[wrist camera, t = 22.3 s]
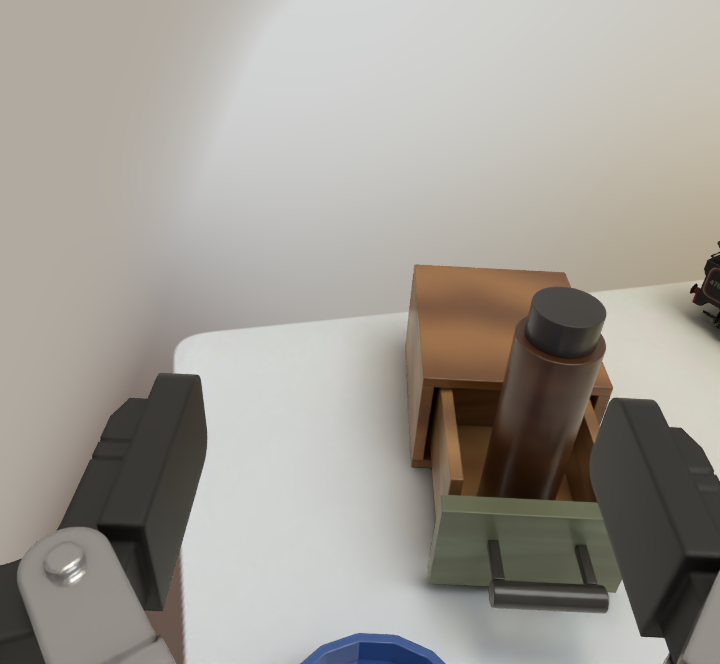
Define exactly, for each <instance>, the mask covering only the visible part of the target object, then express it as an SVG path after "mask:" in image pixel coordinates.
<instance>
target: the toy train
mask: <svg viewBox="0 0 720 664" xmlns="http://www.w3.org/2000/svg"><path fill="white" fill-rule="evenodd" d="M718 245H719V248H720V241H719V242H718ZM719 253H720V252H718V253H716V254H719ZM716 254H713V255H711V257H712V258H711V259H709V260H707V263H706V265H705V268H704V270H705V275H706V277H705V280H704V282H703V284H702V287H701V289H700V288H698V287H697V286H698V285H697V284H695V285H694V286H693V287H692V288H691V291H690V293H695V296H694V299H693V301H692V302H693V303H695V304H697V305H699V306H702V305H704V304H706V303H708V302H709V303H711V304H712V305H714V306H716V307H718V308H719V309H720V255H718V256H715V257H714V255H716ZM702 313H705V314H706V315H708V316H710V317H711V318H713V319H715V321H714V322H713V323H714V324H715V323H717V322H720V312H719V313H718V315H717V317H715V316H713V315H711V314H710V313H708V312H706V311H704V310H703V312H702ZM715 327H716V328H718V329H720V323H719V324H718V325H716V326H715Z"/></svg>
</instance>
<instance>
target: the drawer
mask: <svg viewBox="0 0 720 664" xmlns="http://www.w3.org/2000/svg"><path fill="white" fill-rule="evenodd" d="M500 393H501V391H499V390H480V389H461V388H442V387H434V390H433V397H432V404H431V410H430V417H429V424H428V428H429V440H430V453H431V465H432V477H433V490H434V502H435V514H436V523H435V529H434V534H433V540H432V545H431V551H430V556H429V562H428V580H429V583H431V584H451V585H471V586H489V600H490V605H491V607H492V608H505V609H525V610H545V611H566V612H586V613H606V612H607V610H608V606H609V599H608V593H607V592H613V593H615V592H616V591H617V589H618V587H619V584H620V582H621V580H622V576H621V573H620V570H619V567H618V564H617V561H616V558H615V555H614V552H613V549H612V546H611V542H610V539H609V536H608V533H607V530H606V527H605V524H604V521H603V518H602V515H601V512H600V509H599V505H598V502H597V499H596V496H595V493H594V490H593V487H592V484H591V479H590V470H589V464H590V455H591V451H592V448H593V446H594V443H595V440H596V437H597V434H598V432H599V429H600V426H599V423H598V420H597V418H596V415H595V412H594V410H593V407H592V404H591V401H590V399H589V401H588V404H587V407H586V410H585V413H584V416H583V419H582V422H581V425H580V428H579V431H578V434H577V437H576V440H575V443H574V446H573V449H572V452H571V455H570V458H569V461H568V464H567V467H566V470H565V473H564V476H563V479H562V482H561V485H560V488H559V491H558V494H557V497H556V500H536V499H516V498H496V497H477V493H478V489H479V485H480V480H481V476H482V472H483V467H484V463H485V458H486V454H487V450H488V445H489V441H490V437H491V432H492V428H493V423H494V419H495V415H496V410H497V406H498V402H499V397H500Z"/></svg>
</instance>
